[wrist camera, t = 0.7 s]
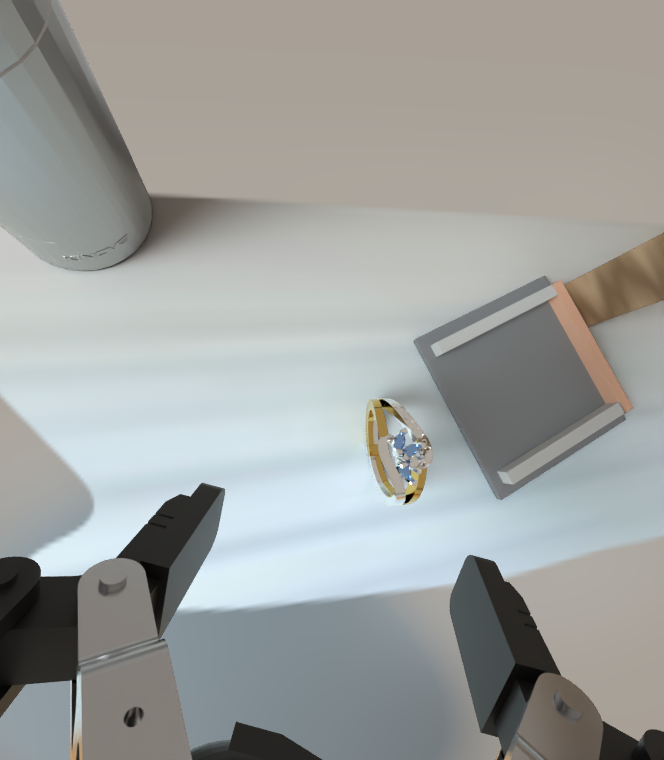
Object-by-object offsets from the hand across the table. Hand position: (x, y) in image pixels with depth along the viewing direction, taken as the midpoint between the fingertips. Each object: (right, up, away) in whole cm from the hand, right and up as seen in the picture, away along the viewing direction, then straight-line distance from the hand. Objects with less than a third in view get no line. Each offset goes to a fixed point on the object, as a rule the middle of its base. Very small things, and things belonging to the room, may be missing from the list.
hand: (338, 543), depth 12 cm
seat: (+15, +5, +20) cm, 26 cm away
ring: (+3, 0, +17) cm, 17 cm away
